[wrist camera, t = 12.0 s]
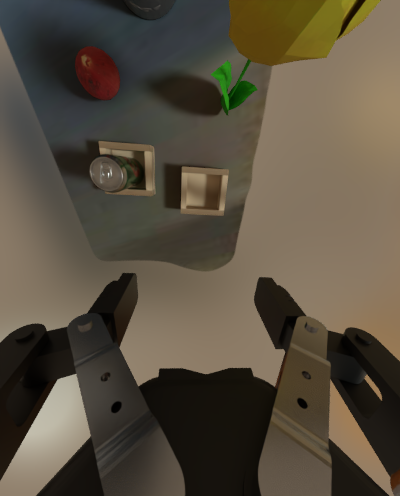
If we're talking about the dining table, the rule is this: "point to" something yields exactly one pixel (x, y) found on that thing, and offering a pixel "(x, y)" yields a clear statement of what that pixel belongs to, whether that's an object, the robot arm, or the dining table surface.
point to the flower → (285, 34)
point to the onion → (97, 73)
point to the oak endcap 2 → (203, 191)
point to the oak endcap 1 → (140, 154)
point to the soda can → (116, 172)
